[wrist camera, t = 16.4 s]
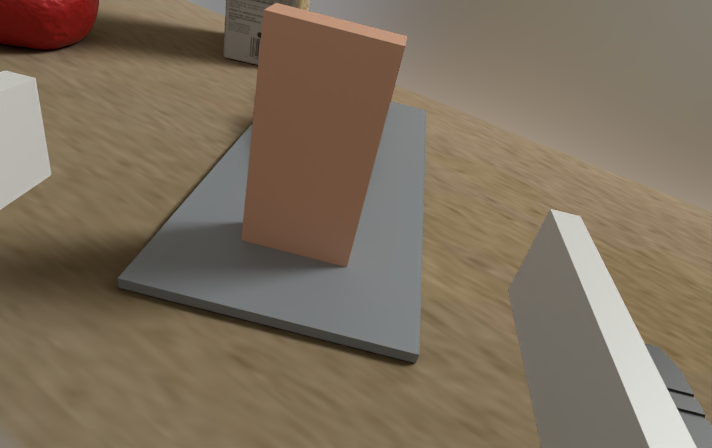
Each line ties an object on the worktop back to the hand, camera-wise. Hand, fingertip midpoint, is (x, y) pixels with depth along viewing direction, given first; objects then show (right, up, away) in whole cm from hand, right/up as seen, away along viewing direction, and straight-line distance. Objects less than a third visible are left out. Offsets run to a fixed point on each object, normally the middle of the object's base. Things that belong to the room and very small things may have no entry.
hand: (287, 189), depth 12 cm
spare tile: (-1, -2, +10) cm, 10 cm away
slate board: (0, +3, +18) cm, 18 cm away
